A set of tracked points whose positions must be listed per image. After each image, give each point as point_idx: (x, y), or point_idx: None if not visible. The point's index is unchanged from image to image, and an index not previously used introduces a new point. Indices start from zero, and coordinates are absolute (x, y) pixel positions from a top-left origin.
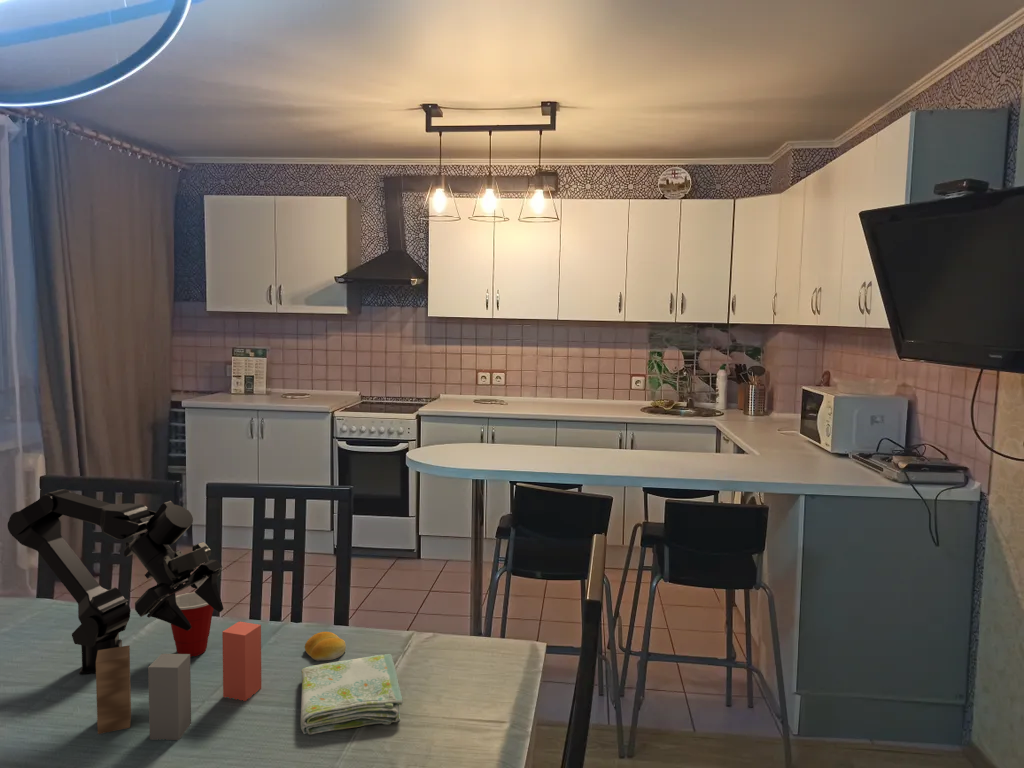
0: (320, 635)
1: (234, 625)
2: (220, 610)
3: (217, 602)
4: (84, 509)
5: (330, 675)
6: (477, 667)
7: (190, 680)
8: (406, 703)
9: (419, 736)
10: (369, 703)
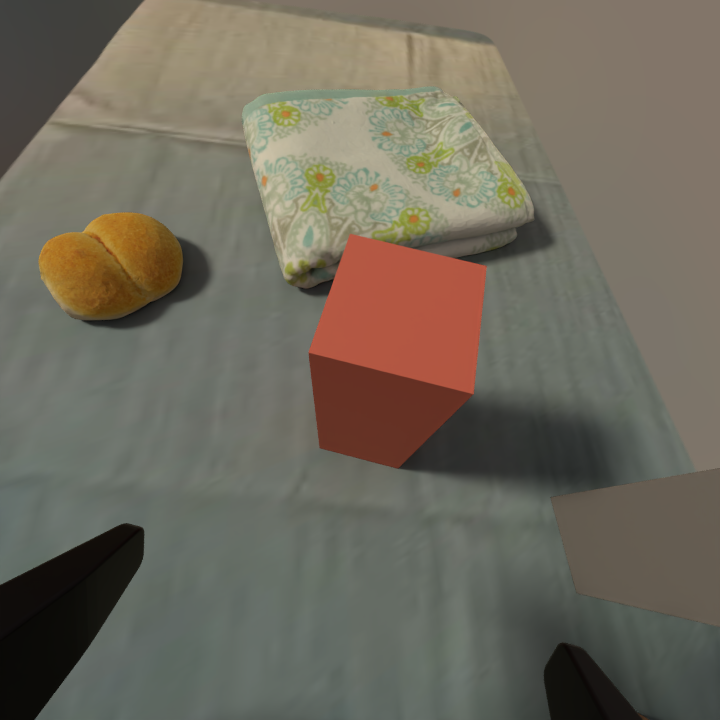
0: (85, 252)
1: (373, 357)
2: (140, 549)
3: (70, 601)
4: None
5: (355, 190)
6: (243, 48)
7: (660, 478)
8: None
9: (469, 106)
10: (470, 115)
